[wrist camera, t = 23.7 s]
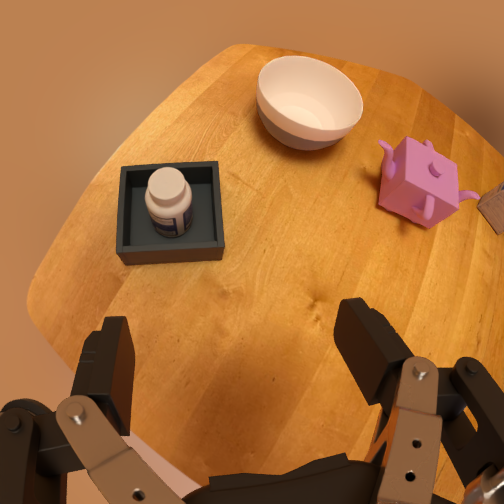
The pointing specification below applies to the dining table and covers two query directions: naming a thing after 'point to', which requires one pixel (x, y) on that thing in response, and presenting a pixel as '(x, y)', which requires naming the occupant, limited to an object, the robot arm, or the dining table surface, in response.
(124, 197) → the tub
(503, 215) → the medicine box
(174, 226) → the pill bottle
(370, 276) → the dining table surface
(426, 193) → the teapot
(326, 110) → the bowl
